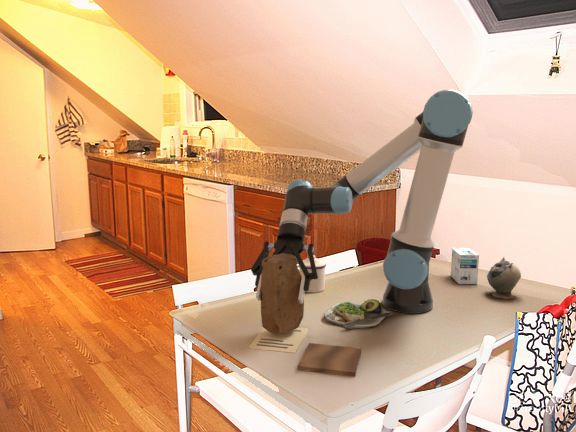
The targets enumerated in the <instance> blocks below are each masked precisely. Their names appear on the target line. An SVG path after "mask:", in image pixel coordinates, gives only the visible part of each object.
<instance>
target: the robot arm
mask: <svg viewBox="0 0 576 432" xmlns="http://www.w3.org/2000/svg"><path fill="white" fill-rule="evenodd" d="M473 113H474V112H473V106H472V103H471V101H470V99H469V98H468V96H466V95H465V94H464V93H462V91H460V90H456V89H449V88H448V89H442V90H439V91H437V92H435V93H433V95H431V96H430V97H429V98H428V100H427V102H426V103H425V104H424V107H423V111H421V113H419V114H418V115H417V116H415V117H414V120H413V123H412V124H411V125H409V126H408V127H407V128H405V129H404V130H403V131H401V132H400V133H399V134H397V135H396V136H395V137H394V138H393V139H391V140H390V141H388V142H387V143H386V144H384V145H383V146H382V147H381V148H379V149H378V150H376V151H375V152H374V153H373V154H371V155H370V156H369V157H367V158H366V159H365V160H363V161H362V162H361V163H359V164H358V165H356V167H354V168H353V169H351V170H350V171H349V172H348V173H346V175H344V176H342V177H341V178H340V179H339V180H337V181H336V182H335V183H334V184H331V185H330V186H328V187H313V186H312V184H311V183H310V182H309V181H307V180H302V179H294V180H292V181H291V182H289V184H288V185H287V189H286V192H285V195H284V202H283V208H282V213H281V217H280V221H279V227H278V231H277V237H276V240H275V241H274V243H273V242H271V243H269V241H265V242H264V243H263V248H262V250H261V252H260V254H259V255H258V257H257V258H256V260H255V261H254V264H253V265H252V267H251V269H250V270H251V273H252V275H253V276H255V283H254V285H255V287H256V293H255V297H256V299H257V301H259V302H261V273H262V270H263V266H262V261H263V259H264V258H266V257H268V256H270V252H272V250H273V249H275V250H274V251H273V252H272V255H279V254H282V253H285V254H292V255H294V256H296V259H297V265H299V266H300V268H301V270H302V272H303V274H304V276H305V277H303V276H302V280H301V286H300V292H299V298H298V300H299V302H300V304H303V299H304V300H305V293H306V292H305V291H308V290H309V286H310V281H311V280H312V279H317V278H318V275H317V271H316V266H315V261H314V257H313V255H315V248H314V247H315V246H314V244H313V243H309V244H305V238H306V237H305V236H306V230H307V226H308V225H307V224H308V218H309V215H310V214H311V215H316V214H321V215H322V214H327V215H328V214H337V215H340V214H349V213H351V211H352V208H353V201H354V200H355V199H357V198H359V196H361V195H362V194H363V193H365V192H366V191H367V190H368V189H370V188H371V187H373V186H374V185H376V184H377V183H379V182H380V181H381V180H382V179H384V178H385V177H386V176H388V175H389V174H391V173H392V172H394V171H395V170H397V169H398V168H399V167H400V166H402V165H403V164H404V163H406V162H408V160H410V159H411V158H412V157H414V156H416V155H417V154H418V153H419V154H418V159H417V162H416V165H415V166H416V167H415V169H414V174H413V177H412V181H411V185H410V188H409V192H408V196H407V200H406V203H405V206H404V207H405V208H404V211H403V214H402V219H401V223H400V226H399V229H398V230H397V231H393V232H391V235H390V242H389V246H388V250H387V254H386V256H385V258H384V259H383V262H382V267H383V274H384V276H385V278H386V280H387V282H388V283H387V285H386V287H385V290H384V293H383V294H382V295H383V296H382V305H383V306H384V307H385V308H386V309H389V310H392V311H394V312H398V313H404V314H422V313H427V312H430V311H431V310H433V308H434V298H433V295H432V292H431V287H430V285H429V284H430V283H429V275H430V274H429V272H430V261H431V258H432V254H433V251H434V247H435V243H434V242H433V240H432V238H431V237H432V234H433V230H434V227H435V223H436V219H437V215H438V212H439V209H440V205H441V202H442V198H443V194H444V191H445V188H446V184H447V180H448V177H449V173H450V169H451V166H452V163H453V159H454V156H455V152H457V151H458V150H460V149H462V148H463V146H464V145H463V144H464V142H465V139H466V134H467V132H468V127H469V125H470V124H471V122H472V119H473ZM304 251H305V253H306V254H307V256H308V258H309V261H310V265H311V270H312V273H309V272H308V270H307V268H306V266H305V264H304V262H303V260H304V259H302V256H301V255H300V254H301V253H303V252H304Z"/></svg>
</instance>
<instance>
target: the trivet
mask: <svg viewBox="0 0 576 432" xmlns="http://www.w3.org/2000/svg"><path fill="white" fill-rule="evenodd" d="M361 353H362V348H361V347H352V346H342V345H331V344H322V343H313V342H309V343H308V344H307V346H306V349H305V350H304V353H303V355H302V357H301V359H300V361H299V363H298V365H297V370H298V371H303V372H314V373H320V374H322V373H323V374H328V375H330V374H331V375H339V376H348V377H356V374H357V370H358V366H359V362H360V357H361Z"/></svg>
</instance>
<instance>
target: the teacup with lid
mask: <svg viewBox="0 0 576 432" xmlns="http://www.w3.org/2000/svg"><path fill="white" fill-rule="evenodd" d="M313 257H314V261H315V266H316V271H317V275H318V278H317V279H312V280H311V281H310V286H309V290H308V291H305V293H312V294H313V293H320V292H323V291H325V288H326V267H327V264H326V262H325V261H324V260H321V259H319V258H316V255H315V254H313ZM302 260H303V262H304V264H305V266H306V268H307V270H308V272H309V273H312V270H311V265H310V261H309V257H306V258H305V259H302ZM297 268H298V269H299V271H300V274H301V277H302V276H303V277H305V276H304V274H303V272H302V270H301V268H300V266H299V264H297Z"/></svg>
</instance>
